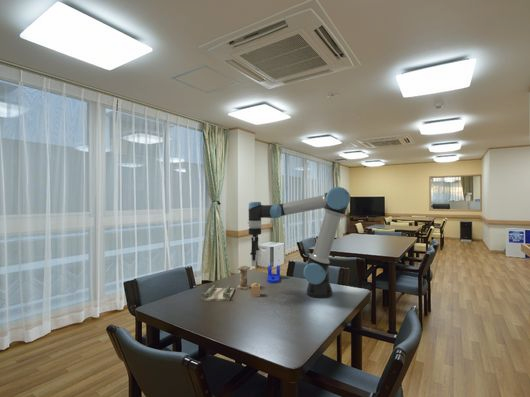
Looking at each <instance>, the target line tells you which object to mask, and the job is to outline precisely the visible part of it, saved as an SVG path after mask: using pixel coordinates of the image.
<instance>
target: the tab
mask: <svg viewBox="0 0 530 397" xmlns="http://www.w3.org/2000/svg"><path fill="white" fill-rule="evenodd" d="M250 297H252V298H255V297H256V298H257V297H259V298H260V297H261V284H260V283H258V282H253V283H251V285H250Z"/></svg>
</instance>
